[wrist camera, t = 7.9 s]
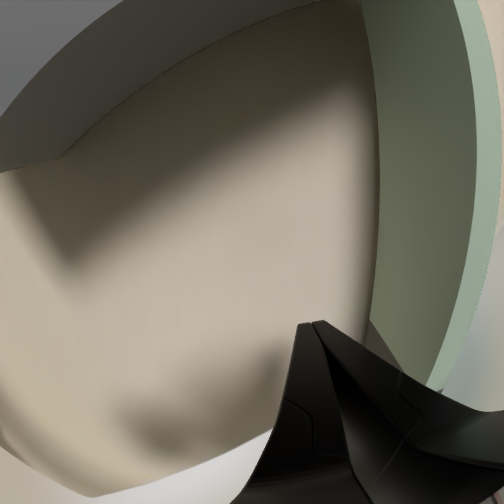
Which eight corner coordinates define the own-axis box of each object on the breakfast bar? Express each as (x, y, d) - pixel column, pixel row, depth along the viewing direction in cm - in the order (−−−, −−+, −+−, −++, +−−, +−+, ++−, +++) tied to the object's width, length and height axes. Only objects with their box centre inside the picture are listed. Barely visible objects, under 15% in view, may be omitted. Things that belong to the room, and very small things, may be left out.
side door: (374, 378, 15) (408, 447, 10) (356, 383, 15) (388, 455, 10) (384, 5, 8) (459, -41, 3) (359, 0, 8) (430, -56, 2)
